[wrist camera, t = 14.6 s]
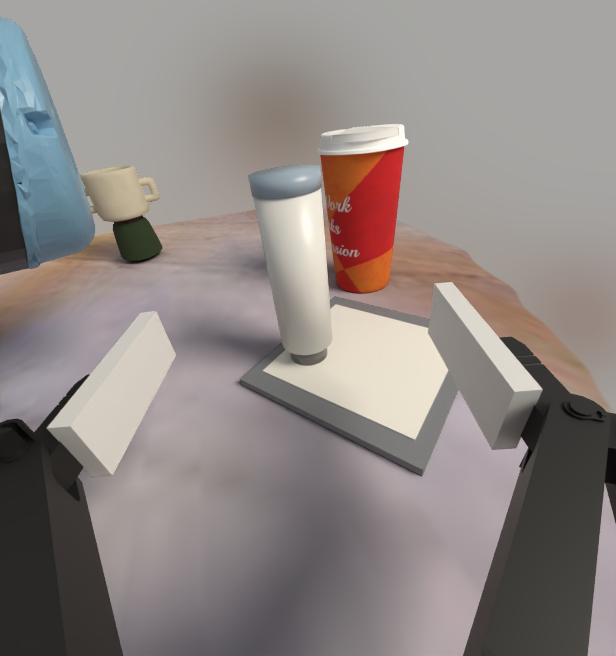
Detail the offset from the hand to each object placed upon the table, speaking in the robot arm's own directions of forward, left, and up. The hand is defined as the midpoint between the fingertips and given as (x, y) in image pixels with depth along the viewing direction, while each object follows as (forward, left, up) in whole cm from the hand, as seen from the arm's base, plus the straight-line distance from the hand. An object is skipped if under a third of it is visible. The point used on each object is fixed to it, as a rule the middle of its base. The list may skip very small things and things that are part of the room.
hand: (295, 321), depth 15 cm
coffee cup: (-7, +20, -9) cm, 23 cm away
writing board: (0, +8, -9) cm, 12 cm away
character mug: (-43, +14, -9) cm, 46 cm away
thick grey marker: (-4, +6, -8) cm, 11 cm away
